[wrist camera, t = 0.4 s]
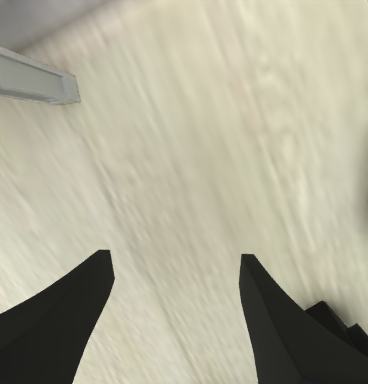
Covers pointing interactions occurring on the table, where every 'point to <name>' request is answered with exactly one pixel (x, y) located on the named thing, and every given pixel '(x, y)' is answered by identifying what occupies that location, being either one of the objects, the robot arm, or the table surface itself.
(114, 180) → the table surface
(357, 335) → the digital camera
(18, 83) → the stool
